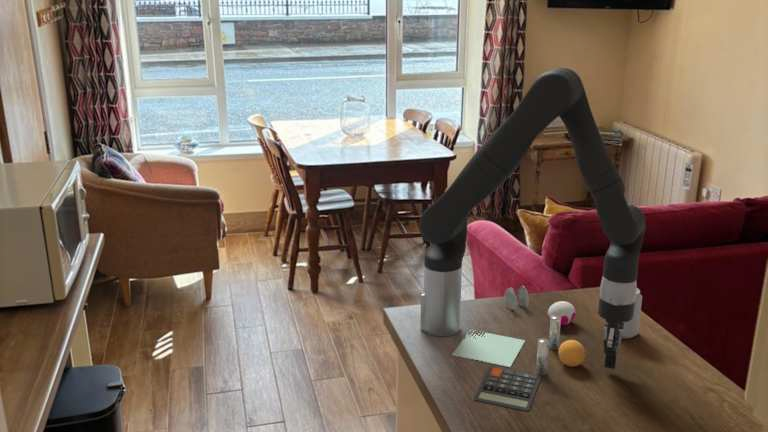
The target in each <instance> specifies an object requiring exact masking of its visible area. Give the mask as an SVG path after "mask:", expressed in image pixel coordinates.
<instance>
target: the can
mask: <svg viewBox="0 0 768 432" xmlns="http://www.w3.org/2000/svg"><path fill="white" fill-rule="evenodd" d="M642 303H643V295H642V294H641V290H640V289H639V288H638V287H637V291H636V300H635V308H634V317H633V319H632V320H630V321H628V322H624V323H625V326H624V330H623V333H622V339H623V340H624V339H625V340H626V339H632V338H634V337H636V336H637V335H638V334H639V328H640V321H641V312H642V311H641V310H642Z"/></svg>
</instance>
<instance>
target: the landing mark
mask: <svg viewBox="0 0 768 432" xmlns="http://www.w3.org/2000/svg"><path fill="white" fill-rule="evenodd" d="M471 330H473V329H470V330H469V331H471ZM473 332H474V330H473ZM482 332H483V333H484V331H482ZM483 333H482V334H483ZM472 334H473V333H472ZM472 334H471V335H472ZM479 334H480V333H479ZM479 334H478V335H479ZM482 334H481V335H480V336H478V335H476V334H474V335H473V336H471V335H469V336H468V333H466V335H465V337H466V338H465V337H464V338H465V339H464V338H463V339H462V340H461V342H460V343H459V345H458V346H457V347H456V349H455V350H454V351H453V352H452V354H451V355H452V356H453V357H458V358H463V359H468V360H472V359H473V361H476V360H478V362H481V361H483V362H482V363H487V364H492V365H497V366H501V367H506V368H511V367H512V365H513V364H514V362H515V360H516V359H517V356H518V355H519V353H520V351H521V350H522V348H523V346H524V345H525V343H526V340H524V339H520V338H515V337H510V336H505V335H499V334H494V333H490V332H489V333H488V332H485V334H484V335H483V336H482ZM475 335H476V336H475ZM467 336H468V337H467ZM470 336H471V337H470ZM474 336H475V337H474ZM481 336H482V337H481ZM484 336H485V337H484ZM469 337H470V338H469ZM473 337H474V338H473ZM475 338H476V339H475Z"/></svg>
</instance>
